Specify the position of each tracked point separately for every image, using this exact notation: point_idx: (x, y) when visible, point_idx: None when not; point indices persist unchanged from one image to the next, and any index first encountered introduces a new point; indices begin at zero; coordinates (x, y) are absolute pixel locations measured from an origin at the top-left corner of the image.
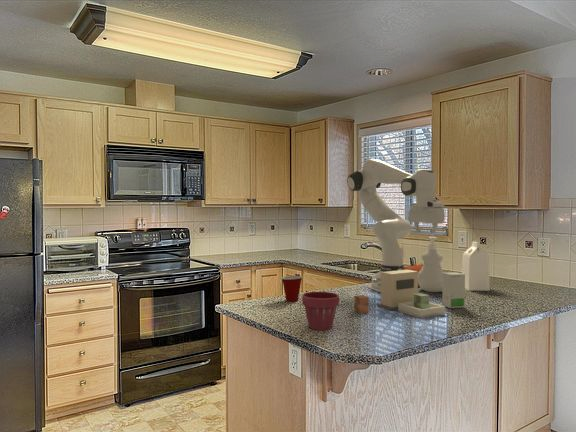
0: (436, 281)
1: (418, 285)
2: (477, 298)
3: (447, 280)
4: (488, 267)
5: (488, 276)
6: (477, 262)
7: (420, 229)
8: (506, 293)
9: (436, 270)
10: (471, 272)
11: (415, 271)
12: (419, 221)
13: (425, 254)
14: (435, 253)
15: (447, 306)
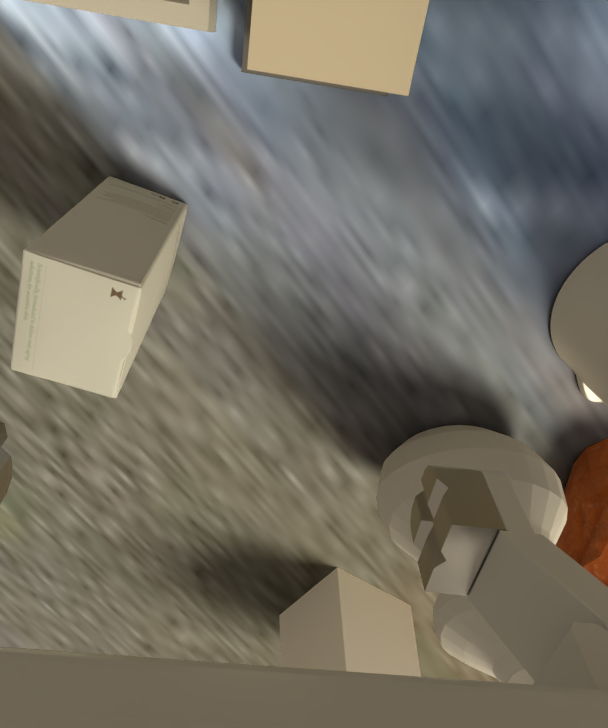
0: (409, 465)
1: (564, 491)
2: (205, 472)
3: (83, 239)
4: None
5: None
6: None
7: (419, 558)
8: (203, 613)
9: None
10: (336, 655)
11: (263, 45)
12: (384, 708)
13: None
14: (481, 638)
15: (131, 184)
